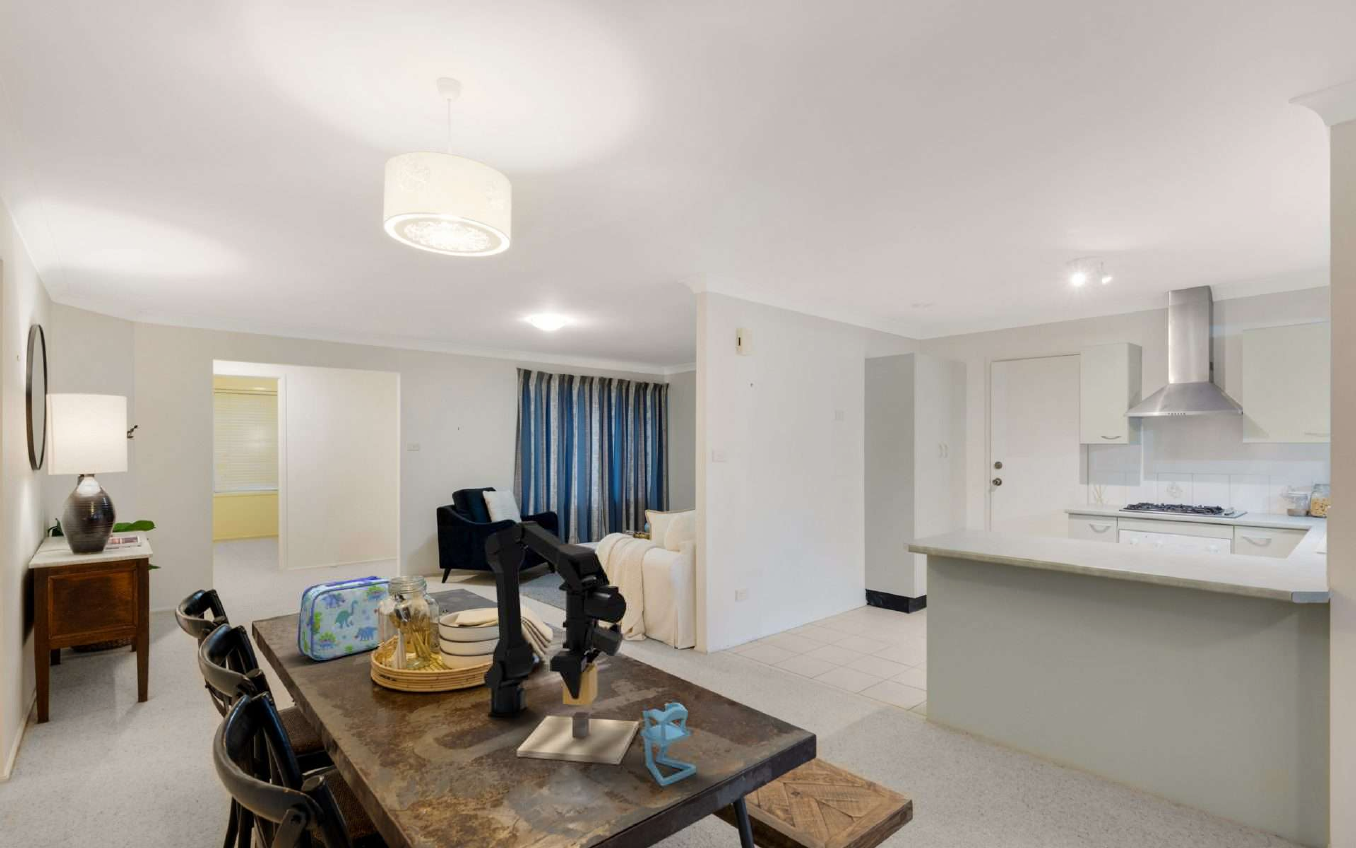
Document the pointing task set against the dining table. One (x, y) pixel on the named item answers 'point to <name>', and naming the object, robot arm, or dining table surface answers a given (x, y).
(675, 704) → the chair
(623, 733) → the board
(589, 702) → the block
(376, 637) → the lunch box
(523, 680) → the robot arm
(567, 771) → the dining table surface
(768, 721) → the dining table surface
